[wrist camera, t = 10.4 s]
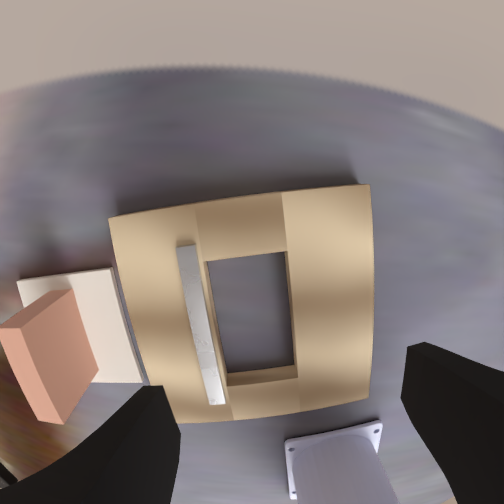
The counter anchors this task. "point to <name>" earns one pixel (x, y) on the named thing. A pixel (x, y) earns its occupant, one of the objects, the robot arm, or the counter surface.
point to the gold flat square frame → (299, 289)
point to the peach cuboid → (50, 354)
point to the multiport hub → (6, 477)
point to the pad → (95, 319)
